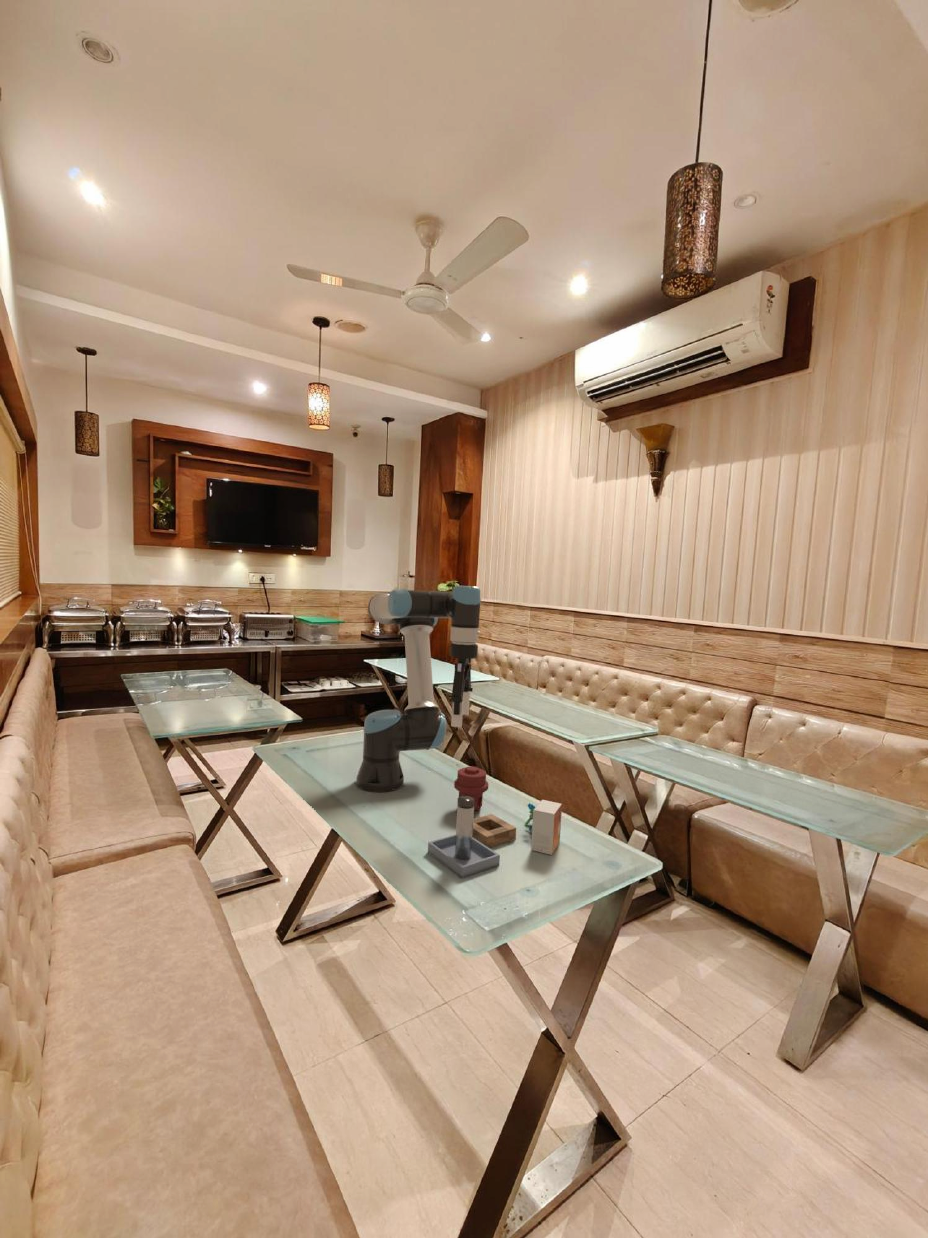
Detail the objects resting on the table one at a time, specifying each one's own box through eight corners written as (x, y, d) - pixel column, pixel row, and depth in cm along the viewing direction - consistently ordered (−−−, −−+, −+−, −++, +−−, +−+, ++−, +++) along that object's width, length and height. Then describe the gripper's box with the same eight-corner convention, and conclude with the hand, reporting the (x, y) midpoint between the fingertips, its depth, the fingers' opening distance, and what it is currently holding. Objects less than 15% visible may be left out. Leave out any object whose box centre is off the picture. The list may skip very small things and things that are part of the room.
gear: (565, 832, 145) (541, 807, 143) (551, 850, 143) (526, 824, 141) (546, 820, 155) (523, 796, 154) (533, 836, 154) (510, 813, 152)
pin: (451, 854, 132) (454, 798, 131) (464, 850, 134) (467, 794, 133) (461, 862, 128) (464, 804, 128) (474, 857, 131) (477, 800, 130)
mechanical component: (489, 805, 164) (484, 818, 154) (456, 801, 166) (449, 814, 156) (491, 765, 163) (486, 776, 154) (458, 761, 165) (451, 772, 156)
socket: (462, 833, 145) (462, 822, 145) (491, 824, 151) (491, 814, 151) (486, 848, 137) (486, 837, 137) (515, 839, 143) (516, 828, 143)
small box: (552, 856, 135) (554, 814, 134) (530, 850, 137) (532, 809, 136) (560, 843, 142) (562, 803, 141) (539, 837, 144) (541, 798, 144)
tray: (427, 852, 134) (428, 842, 133) (463, 841, 140) (464, 831, 140) (461, 878, 122) (462, 867, 122) (499, 865, 129) (499, 855, 129)
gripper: (472, 648, 135) (467, 733, 136) (482, 639, 160) (479, 711, 161) (442, 646, 136) (438, 730, 137) (457, 637, 161) (454, 709, 162)
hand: (460, 720), depth 149 cm, fingers open, 13 cm apart
